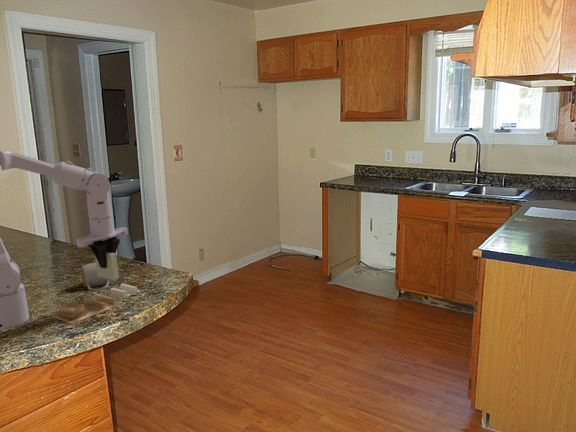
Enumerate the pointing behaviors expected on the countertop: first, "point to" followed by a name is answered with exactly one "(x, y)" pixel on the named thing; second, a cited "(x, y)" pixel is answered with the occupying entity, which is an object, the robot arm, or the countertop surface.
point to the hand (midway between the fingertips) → (106, 266)
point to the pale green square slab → (108, 267)
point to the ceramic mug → (93, 277)
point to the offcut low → (72, 317)
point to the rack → (93, 306)
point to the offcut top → (71, 309)
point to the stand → (123, 291)
